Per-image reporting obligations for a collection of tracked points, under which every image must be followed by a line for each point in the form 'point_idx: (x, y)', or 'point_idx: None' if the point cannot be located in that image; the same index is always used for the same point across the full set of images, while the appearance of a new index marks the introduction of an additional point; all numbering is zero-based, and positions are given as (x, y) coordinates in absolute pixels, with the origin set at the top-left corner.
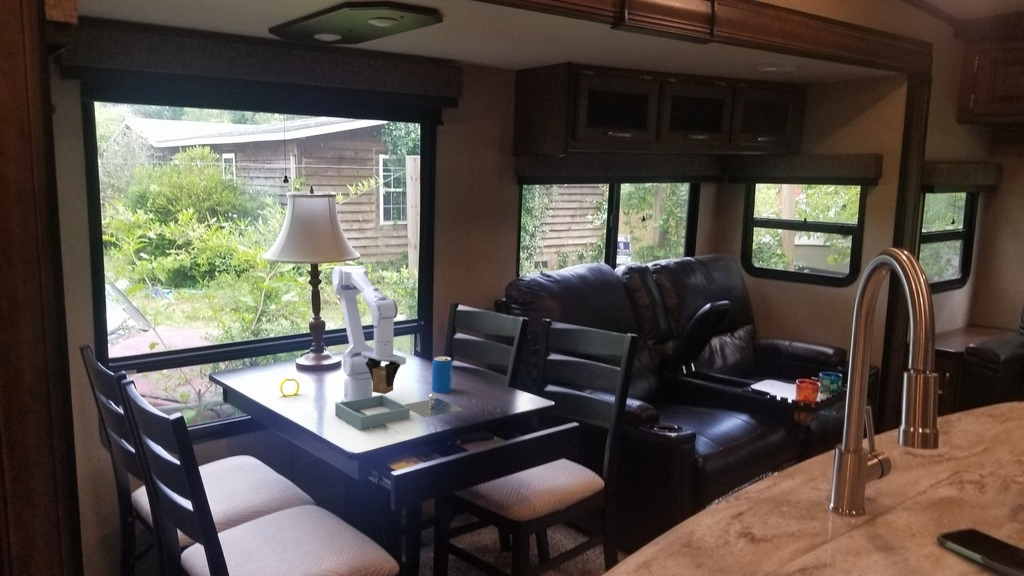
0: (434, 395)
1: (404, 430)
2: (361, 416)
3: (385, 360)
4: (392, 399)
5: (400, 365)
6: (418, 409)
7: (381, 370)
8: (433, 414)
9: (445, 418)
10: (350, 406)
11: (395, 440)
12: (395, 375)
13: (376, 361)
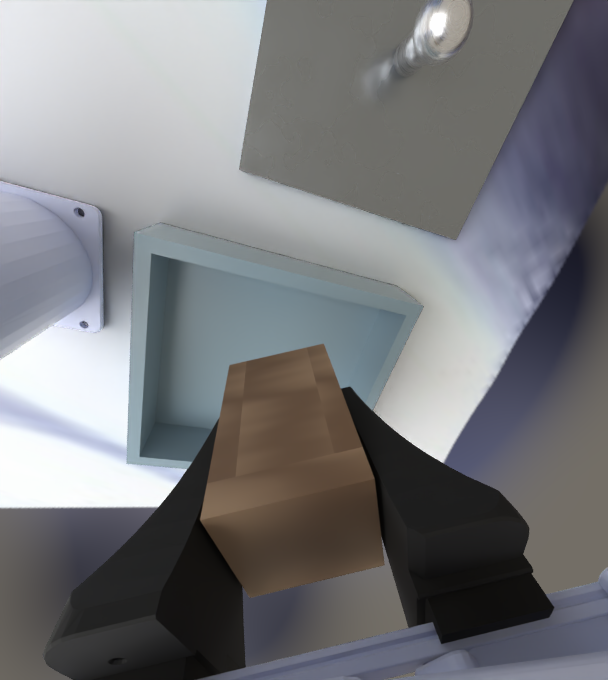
0: (473, 10)
1: (435, 363)
2: None
3: (367, 676)
4: (258, 264)
5: (494, 492)
6: (367, 159)
7: (344, 574)
8: (474, 173)
9: (520, 137)
10: (150, 399)
11: (454, 425)
12: (392, 429)
13: (212, 654)
